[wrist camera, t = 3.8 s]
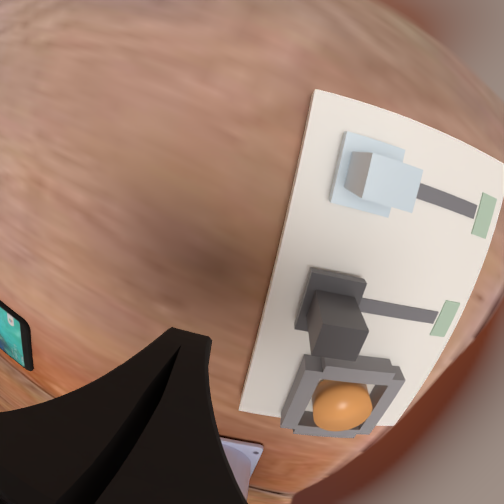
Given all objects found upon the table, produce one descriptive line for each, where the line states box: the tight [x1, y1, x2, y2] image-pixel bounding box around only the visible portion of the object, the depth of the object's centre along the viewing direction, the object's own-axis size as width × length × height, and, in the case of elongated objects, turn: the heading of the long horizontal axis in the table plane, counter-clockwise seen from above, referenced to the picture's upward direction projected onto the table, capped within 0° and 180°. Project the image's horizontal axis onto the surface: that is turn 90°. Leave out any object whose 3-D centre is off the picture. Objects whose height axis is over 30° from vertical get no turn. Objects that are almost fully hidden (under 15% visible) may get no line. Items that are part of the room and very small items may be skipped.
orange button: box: [312, 379, 372, 431], centre depth 16 cm, size 4×4×2 cm
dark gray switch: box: [294, 267, 369, 361], centre depth 13 cm, size 3×3×4 cm
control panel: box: [239, 89, 504, 438], centre depth 15 cm, size 20×12×3 cm, turn 169°
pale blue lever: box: [329, 131, 423, 218], centre depth 11 cm, size 3×3×4 cm
